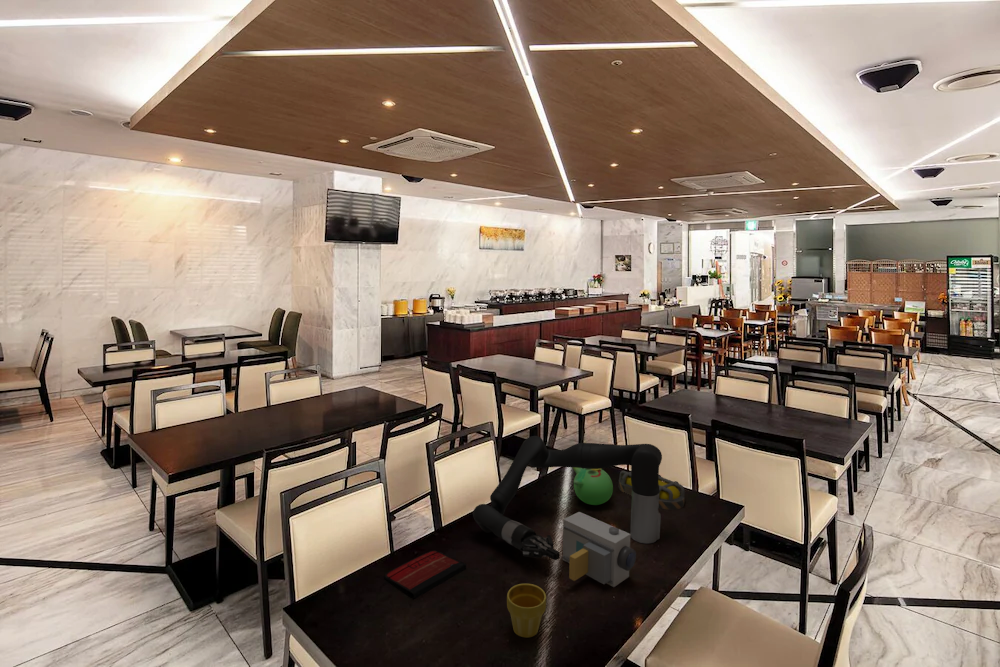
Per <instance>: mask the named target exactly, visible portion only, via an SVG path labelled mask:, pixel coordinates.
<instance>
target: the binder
mask: <svg viewBox="0 0 1000 667" xmlns="http://www.w3.org/2000/svg"><path fill="white" fill-rule="evenodd" d="M464 570H467V563H466V562H462V560H461V561H460V560H458V559H456V558H454V557H451V556H449V555H447V554H445V553H444V552H441V551H438V550H434V549H433V550H429V551H428V552H425V553H423V554H421V555H418V556H415V557H414V558H412V559H410V560H408V561H406V562H404V563H402V564H400V565H399V566H396V567H395V568H393V569H391V570H389V571H387V572H386V573H385V574H384V580H386V581H387V582H388V583H390V584H391V585H393V586H395V588H397V589H398V590H400V591H401V592H403V593H404V594H408V593H411V594H412V595H413V600H415V599H417V598H418V597H420V596H422V595H424V594H425V593H427V592H429V591H430V590H432V589H434V588H436V587H438V586H439V585H440V584H442V583H444V582H447V580H449V579H451V578H453V577H454V576H457V575H458V574H460V573H462V572H463V571H464Z"/></svg>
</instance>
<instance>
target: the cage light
mask: <svg viewBox="0 0 1000 667" xmlns="http://www.w3.org/2000/svg"><path fill="white" fill-rule="evenodd" d="M658 484H659V506H658V509H662V510H669V511H672V510H673V511H674V510H679V509H682V508H683V507H685V506H684V505H685V499H686V498H685V497H686V496H685V492H686V491H685V487H684V486H683V485H682V484H681V483H679V482H678V481H675V480H674V481H673V480H670V479H667V478H665V477H662V475H661V474H659V478H658ZM618 489H619V491H620V492H622V493H624V492H625V493H624V494H626V493H627V494H626V495H628V494H629V495H628V496H630V495H631V496H630V497H632V483H631V471H629V472H628V471H625V470H620V473H619V478H618Z"/></svg>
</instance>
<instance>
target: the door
mask: <svg viewBox="0 0 1000 667" xmlns="http://www.w3.org/2000/svg"><path fill="white" fill-rule="evenodd" d="M568 564H569V568H568V569H569V570H568V574H569V575H568V578H569V579H570V580H572V581H573V582H575V581H577V580H579V579H580V578H581V577H584V576H585V575H586V576H587V577H589V578H591V579H593V580H595V581H596V582H598V583H601V584H603V585H605V584H607V582H608V581H610V577H611V552H610V551H608V550H606V549H604V548H602V547H600V546H598V545H596V544H594V543H592V542H588V543H586V544H585V545H583V549H581V550H579V551H578V552H576V553H574V554H572V555H571V556H570V562H569V563H568Z"/></svg>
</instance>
